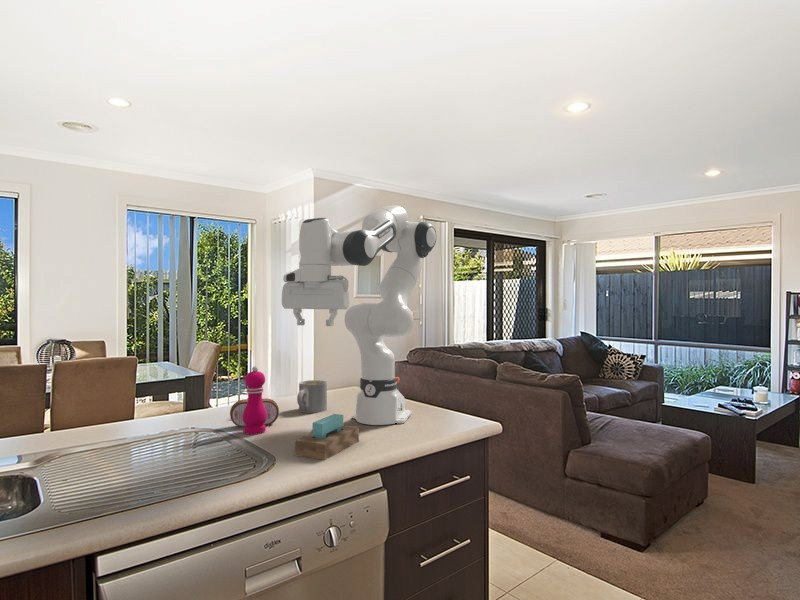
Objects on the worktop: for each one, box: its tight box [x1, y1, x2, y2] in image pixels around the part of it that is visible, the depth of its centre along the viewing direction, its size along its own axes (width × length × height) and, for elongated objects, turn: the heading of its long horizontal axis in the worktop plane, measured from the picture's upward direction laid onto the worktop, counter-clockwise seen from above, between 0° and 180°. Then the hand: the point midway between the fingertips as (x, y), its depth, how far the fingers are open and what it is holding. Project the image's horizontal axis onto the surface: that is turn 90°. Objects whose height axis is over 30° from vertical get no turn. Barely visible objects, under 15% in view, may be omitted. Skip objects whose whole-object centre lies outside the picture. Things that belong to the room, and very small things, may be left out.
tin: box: [229, 398, 280, 428], centre depth 160 cm, size 15×3×8 cm, turn 108°
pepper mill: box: [243, 365, 267, 435], centre depth 152 cm, size 7×7×20 cm
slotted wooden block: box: [294, 424, 360, 461], centre depth 136 cm, size 18×9×4 cm, turn 157°
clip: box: [312, 413, 344, 440], centre depth 136 cm, size 11×3×8 cm, turn 157°
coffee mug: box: [296, 379, 328, 414], centre depth 181 cm, size 13×10×10 cm
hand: (315, 325), depth 139 cm, fingers open, 8 cm apart
